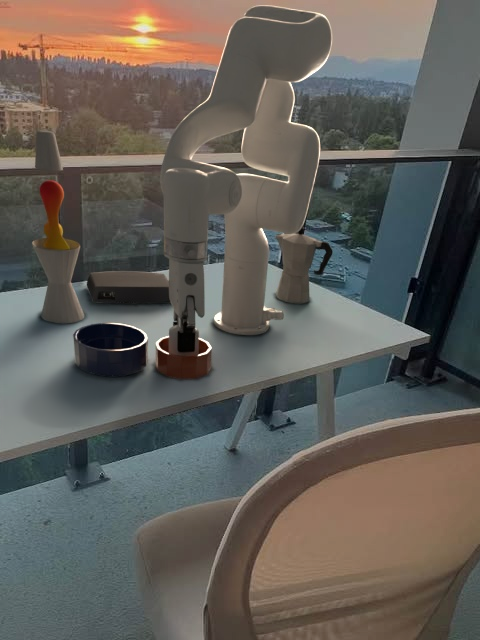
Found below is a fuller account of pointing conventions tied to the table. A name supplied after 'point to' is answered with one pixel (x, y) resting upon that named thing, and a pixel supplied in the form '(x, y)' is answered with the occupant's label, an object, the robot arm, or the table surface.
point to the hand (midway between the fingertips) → (183, 345)
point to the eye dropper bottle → (173, 340)
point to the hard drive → (128, 287)
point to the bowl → (110, 349)
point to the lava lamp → (55, 240)
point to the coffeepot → (299, 265)
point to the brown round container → (183, 361)
